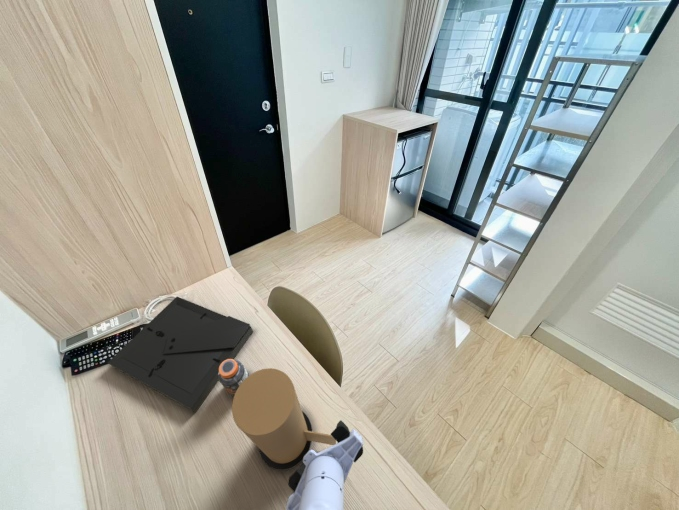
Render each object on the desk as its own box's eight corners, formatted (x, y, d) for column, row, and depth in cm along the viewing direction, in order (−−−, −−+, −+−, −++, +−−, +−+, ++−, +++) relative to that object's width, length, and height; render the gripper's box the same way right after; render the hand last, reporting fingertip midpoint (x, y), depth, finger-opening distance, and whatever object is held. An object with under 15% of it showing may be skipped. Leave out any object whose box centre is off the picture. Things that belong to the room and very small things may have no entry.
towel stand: (305, 475, 56) (304, 475, 55) (250, 464, 57) (249, 463, 57) (317, 412, 65) (317, 411, 64) (269, 403, 66) (269, 402, 65)
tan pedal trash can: (331, 474, 55) (328, 449, 39) (255, 458, 57) (220, 429, 40) (339, 419, 62) (339, 378, 46) (271, 407, 64) (247, 363, 48)
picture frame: (253, 331, 80) (180, 302, 88) (250, 324, 77) (175, 294, 85) (195, 412, 65) (114, 367, 72) (189, 407, 62) (104, 360, 70)
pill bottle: (223, 392, 68) (207, 373, 60) (237, 370, 72) (225, 350, 64) (242, 401, 66) (229, 384, 58) (256, 378, 70) (246, 359, 62)
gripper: (339, 435, 37) (341, 395, 50) (262, 517, 36) (285, 454, 49) (376, 475, 36) (368, 424, 50) (299, 560, 35) (312, 484, 49)
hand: (328, 441), depth 49 cm, fingers open, 7 cm apart
